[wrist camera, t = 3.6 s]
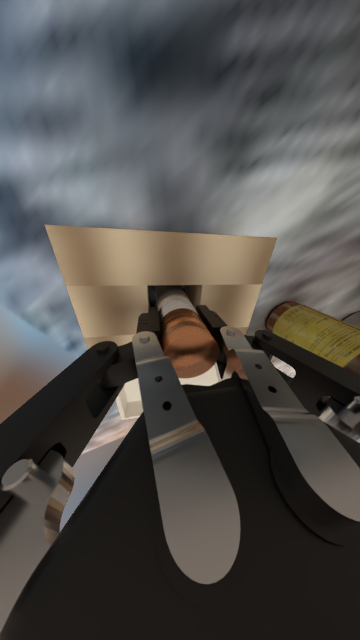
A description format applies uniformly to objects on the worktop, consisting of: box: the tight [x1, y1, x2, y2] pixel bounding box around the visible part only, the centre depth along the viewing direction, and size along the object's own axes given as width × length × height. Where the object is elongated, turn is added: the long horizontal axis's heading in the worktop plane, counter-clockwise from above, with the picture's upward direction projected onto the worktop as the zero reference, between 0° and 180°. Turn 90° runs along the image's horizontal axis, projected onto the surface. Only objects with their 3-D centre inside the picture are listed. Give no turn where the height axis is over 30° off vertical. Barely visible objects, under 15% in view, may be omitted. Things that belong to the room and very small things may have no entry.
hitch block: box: [45, 225, 277, 349], centre depth 15 cm, size 16×12×6 cm
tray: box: [116, 365, 219, 420], centre depth 24 cm, size 18×14×4 cm
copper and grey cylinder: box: [155, 285, 219, 378], centre depth 13 cm, size 3×3×12 cm
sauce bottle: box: [266, 302, 360, 376], centre depth 15 cm, size 7×6×20 cm
